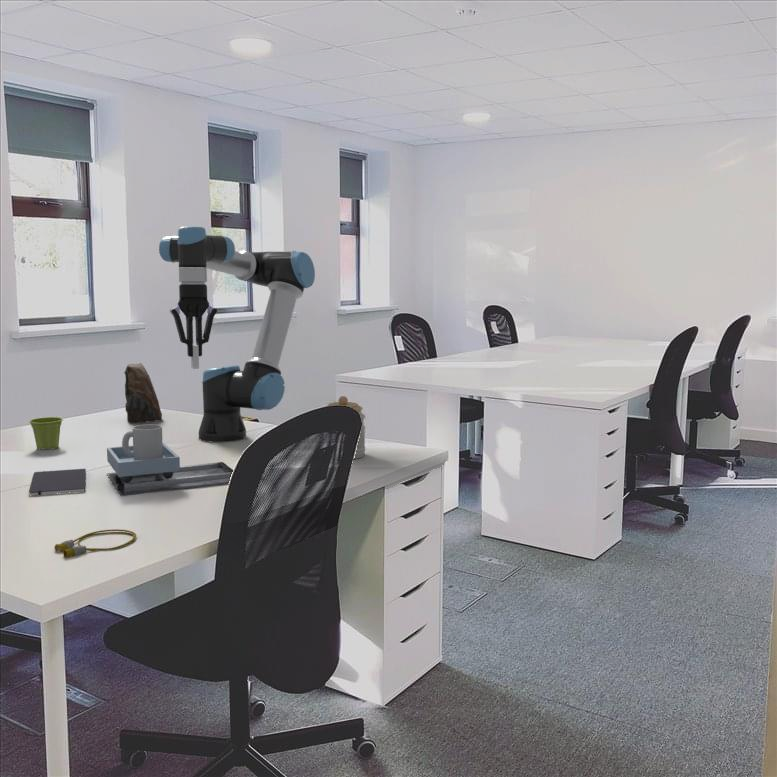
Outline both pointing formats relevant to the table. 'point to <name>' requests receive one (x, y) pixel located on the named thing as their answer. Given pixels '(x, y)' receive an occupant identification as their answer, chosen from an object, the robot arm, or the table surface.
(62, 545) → the extension cord
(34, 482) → the notebook
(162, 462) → the cart
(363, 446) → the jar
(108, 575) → the table surface
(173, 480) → the track
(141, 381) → the brown rock
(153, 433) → the cup
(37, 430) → the plant pot
